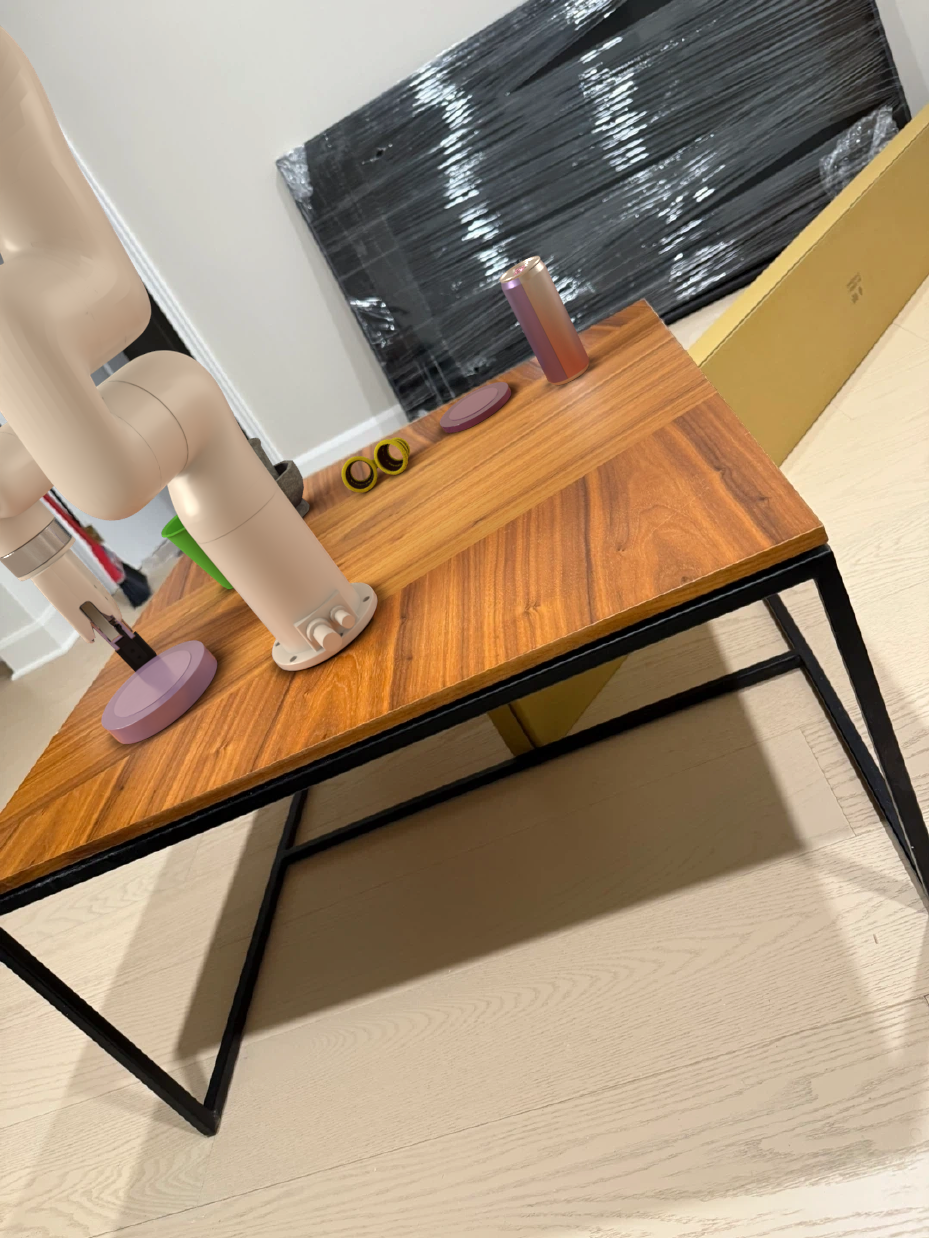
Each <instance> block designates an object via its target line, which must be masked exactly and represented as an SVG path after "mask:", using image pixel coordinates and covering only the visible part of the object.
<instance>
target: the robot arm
mask: <svg viewBox="0 0 929 1238" xmlns="http://www.w3.org/2000/svg"><path fill="white" fill-rule="evenodd" d="M0 256H1V258H2V261H3V263H1V264H0V414H1V415H2V416H3V418H4V419H5V420H6V422H5V423H4V424H2V425H1V426H0V563H2V564H3V565H4V566H5V567H6V569H7V570H8V571H9V572H10V573H12V574H13V576H15V578H16V579H18V580H19V582H24V581H27V580H29V579H30V580H31V582H32V583H33V585H34V586H35V587H36V588H37V589H38V590H39V592H40V593H41V594H42V595H43V596H44V598H45V599H46V600H47V601H48V602H49V603H50V604H51V605H52V607H54V609H55V610H56V611H57V612H58V613H59V614H60V615H61V616H62V617H63V618H64V620H65V621H66V623H68V624H69V625H70V626H71V628H73V630H74V631H75V632H76V633H77V634H78V635H79V636H80V637H81V638H82V639H83V641H84V642H85V643H87V644H94V643H95V639H96V637H97V636H96V634H95V632H97V633H98V634H99V636H100V637H101V638H102V639H104V640H105V642H107V643H108V644H109V645H110V647H112V648H113V649H114V652H115V653H116V654H117V655H118V656H119V657H120V658H121V659H122V660H123V661H124V662H125V663H126V664H127V665H128V667H130V668H131V669H132V670H133V672H134V673H135V672H136V671H137V670H139V669H140V668H141V667H142V666H143V665H145V664H146V663H147V662H149V661H150V660H151V659H153V658H154V657H156V656H157V655H158V654H157V653H156V651H155V650H154V649H153V648H152V647H151V645H150V644H149V643H148V642H147V641H146V640H145V639H144V638H143V637H142V636H141V635H140V634H139V633H138V632H137V631H136V630H135V631H134V630H133V628H132V627H131V626H130V625H129V624H128V623H127V622H126V621H125V620H124V618H123V614H122V612H121V609H120V607H119V605H118V603H117V602H116V600H115V599H114V597H113V596H112V595H111V593H110V592H109V591H108V589H107V588H106V587H105V585H104V584H103V583H102V582H101V581H100V580H99V579H98V578H97V576H96V575H95V574H94V572H93V571H91V570H90V568H88V567H87V565H86V564H85V563H84V562H83V561H82V560H81V558H80V557H78V555H76V553H75V552H74V551H73V550H72V549H71V548H72V546H73V545H74V544H75V543H76V538H75V537H74V536H73V534H71V532H70V531H69V530H68V529H67V528H66V526H64V525H63V524H62V523H61V521H60V520H59V519H58V518H57V517H56V516H55V514H53V512H52V511H50V509H49V508H48V507H47V506H46V505H45V504H44V502H42V501H41V500H40V499H42V498H43V497H44V496H45V495H47V494H48V493H49V492H50V491H51V490H52V488H55V489H56V490H57V491H58V492H59V493H60V495H62V496H63V498H65V499H66V500H67V502H69V503H70V504H71V505H73V507H75V508H76V509H78V510H80V512H83V513H84V514H86V515H88V516H90V517H92V518H95V519H98V520H103V521H121V520H125V519H128V518H130V517H132V516H134V515H136V514H137V513H139V512H140V511H142V510H143V509H144V508H145V507H146V506H147V505H149V504H150V502H151V501H153V500H154V499H155V497H157V496H158V495H159V494H160V493H161V492H162V490H164V489H165V488H166V486H167V489H168V494H169V497H170V500H171V503H172V506H173V509H174V511H175V513H176V515H178V517H179V519H180V521H181V522H182V524H183V525H184V527H185V528H186V530H187V531H188V532H189V534H190V535H191V536H192V537H193V538H194V540H195V541H196V542H197V544H198V545H199V546H200V547H201V549H202V550H203V551H204V552H205V553H206V555H207V556H208V557H209V558H210V559H211V561H212V562H213V563H214V564H215V565H216V567H217V568H218V569H219V570H220V572H221V573H222V574H223V575H224V576H225V578H226V579H227V580H228V581H229V582H230V584H231V585H232V586H233V587H234V588H233V589H234V590H235V591H236V592H237V593H238V595H239V596H240V598H242V600H243V601H244V602H245V603H246V604H247V606H248V607H249V608H250V609H251V610H252V612H253V613H254V614H255V615H256V617H257V618H258V619H259V620H260V621H261V623H262V624H263V625H264V626H265V628H266V629H267V630H268V632H269V633H270V634H271V635H272V636H273V637H274V638H275V640H274V643H273V645H272V649H271V656H272V660H273V661H274V663H276V665H277V666H278V667H279V668H280V669H282V670H284V671H290V672H293V671H300V670H301V671H302V670H306V669H308V668H311V667H314V666H317V665H318V664H321V663H322V662H324V661H327V660H328V659H330V658H331V657H333V656H334V655H336V654H338V653H339V652H340V651H342V650H343V649H344V648H346V647H347V646H348V645H349V644H350V643H352V641H354V640H355V639H356V638H357V637H358V636H359V635H360V634H361V633H362V632H363V631H364V629H365V628H366V627H367V625H368V624H369V622H370V621H371V619H372V618H373V616H374V615H375V611H376V609H377V606H378V596H377V594H376V592H375V591H374V589H373V588H372V587H371V586H370V585H369V584H368V583H365V582H357V581H356V582H350V581H349V579H347V577H346V576H345V574H344V573H343V571H342V570H341V569H340V567H339V566H338V565H337V564H336V563H335V561H334V559H333V558H332V557H331V555H330V553H328V551H327V549H325V547H324V546H323V545H322V543H321V542H320V540H319V539H318V538H317V536H316V535H315V534H314V532H313V531H312V530H311V528H310V527H309V525H308V523H306V521H305V519H304V518H303V517H301V516H300V515H299V513H298V512H297V510H296V509H295V508H294V506H293V505H292V504H291V502H290V501H289V500H288V498H287V497H286V495H285V494H284V493H283V491H282V490H281V489H280V487H279V486H278V484H277V483H276V481H275V480H274V478H273V477H272V476H271V474H270V473H269V472H268V470H267V469H266V467H265V466H264V465H263V463H262V462H261V460H260V459H259V457H258V456H257V455H256V453H255V452H254V450H253V449H252V447H251V445H250V444H249V442H248V441H247V440H248V439H247V437H246V435H245V433H244V432H243V430H242V428H241V426H240V424H239V422H238V420H237V419H236V416H235V414H234V412H233V411H232V408H231V406H230V404H229V401H228V400H227V398H226V396H225V394H224V391H223V390H222V388H221V387H220V385H219V383H218V382H217V380H216V379H215V377H214V376H213V375H212V374H211V373H210V372H209V370H208V369H207V368H206V367H205V366H204V365H202V364H201V363H200V362H199V361H197V360H196V359H195V358H193V357H191V356H189V355H187V354H185V353H182V352H179V351H174V350H166V349H165V350H155V351H154V350H153V351H151V352H146V353H145V354H141V355H139V356H137V357H135V358H133V359H132V360H130V361H128V362H126V363H125V364H124V365H123V366H121V367H120V368H119V369H117V370H116V371H115V372H114V373H112V374H111V375H110V376H108V377H107V378H106V379H104V380H103V381H101V383H99V384H98V385H96V383H95V381H94V380H93V378H92V376H91V375H92V374H94V373H95V372H96V371H98V370H99V369H100V368H102V367H103V366H104V365H106V364H107V363H108V362H110V361H111V360H112V359H114V358H115V357H116V356H118V355H119V354H120V353H122V352H123V351H124V350H125V349H126V348H127V347H129V346H130V345H131V344H132V343H133V342H135V341H136V340H137V339H138V338H139V337H140V336H141V335H142V334H143V333H144V331H145V330H146V329H147V327H148V325H149V323H150V321H151V320H150V319H151V315H152V306H151V301H150V298H149V294H148V292H147V289H146V287H145V284H144V283H143V281H142V279H141V276H140V274H139V273H138V271H137V269H136V267H135V265H134V263H133V262H132V260H131V257H130V256H129V254H128V252H127V250H126V248H125V246H124V244H123V243H122V242H121V239H120V238H119V235H118V234H117V232H116V230H115V229H114V226H113V225H112V223H111V221H110V219H109V217H108V215H107V214H106V212H105V210H104V208H103V206H102V205H101V203H100V200H99V199H98V197H97V195H96V193H95V192H94V190H93V188H92V186H91V185H90V183H89V182H88V180H87V178H86V176H85V175H84V173H83V172H82V170H81V168H80V165H79V164H78V162H77V160H76V158H75V156H74V154H73V153H72V151H71V148H70V146H69V144H68V142H67V140H66V137H65V135H64V132H63V130H62V127H61V126H60V123H59V121H58V118H57V116H56V113H55V111H54V109H53V106H52V104H51V101H50V99H49V97H48V94H47V92H46V90H45V88H44V85H43V84H42V81H41V80H40V78H39V76H38V74H37V72H36V69H35V68H34V67H33V64H32V63H31V61H30V60H29V58H28V57H27V55H26V53H25V52H24V51H23V49H22V48H21V47H20V45H19V44H18V43H17V41H16V40H15V39H14V38H13V36H11V34H9V32H8V31H7V30H6V29H5V28H4V27H2V26H1V25H0Z"/></svg>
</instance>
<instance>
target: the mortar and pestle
mask: <svg viewBox="0 0 929 1238" xmlns="http://www.w3.org/2000/svg"><path fill="white" fill-rule="evenodd" d="M247 441H248V442H249V444H250V445H251V447H252V449H253V450H254V452H255V453H256V455H257V456H258V457H259V459H260V460H261V462H262V463H263V465H264V466H265V467H266V469H267V470H268V472H269V473H270V474H271V476H272V477H273V478H274V480H275V481H276V483H277V484H278V486H279V487H280V489H281V490H282V491H283V493H284V494H285V495H286V497H287V498H288V500H289V501H290V502H291V504H292V505H293V506H294V508H295V509H296V510H297V512H298V513H299V515H300V516H301V517H302V518H303V517H305V516H306V514H307V513H308V512H309V510H310V504H309V503H308V501H306V499H305V498H303V495H304V490H305V484H304V479H303V475H302V473H301V471H300V469H299V467H298V466H297V464H296V463H295V462H294V460H292V459H289V460H287V459H286V460H285V459H284V460H282V461H280V462H277V463H275V464H273V463H272V461H271V460H270V457H269V456H268V454H267V453H266V451H265V450H264V448H263V446H262V440H261V439H260V438H259V437H252V438H249V439H247Z"/></svg>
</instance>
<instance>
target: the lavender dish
mask: <svg viewBox="0 0 929 1238" xmlns="http://www.w3.org/2000/svg"><path fill="white" fill-rule="evenodd" d="M217 669H218V660H217V658H216V656H214V654H213V653H212V652H211V651H210V650H209V649H208V647H207V646H206V645H205V644H204V643H203V642H202V641H200V640H195V639H193V640H187V641H186V640H185V641H183V642H181V643H178V644H175V645H173V646H171V647H168V648H167V649H165V650H164V651H162V652H160V653H159V654H157V656H156V657H154V658H153V659H151V660H150V661H149V662H147V663H146V664H145V665H143V666H142V667H141V668H140V669H139V670H137V671H136V672H135V671H134V673H132V675H131V676H129V677H128V678H127V679H126V680H125V681H124V682H123V684H121V686H120V687H119V688H118V689H117V690H116V691H115V693H114V694H113V695H112V697H111V698H110V700H109V701H108V702H107V704H106V706H105V707H104V710H103V712H102V714H101V721H100V722H101V726H102V728H103V729H104V730H106V731H107V733H108V734H110V735H111V736H112V737H113V738H114V739H115V740H116V741H117V742H118V743H120V744H123V745H128V744H129V745H130V744H136V743H140V742H141V741H145V740H146V739H148V738H150V737H152V736H155V735H156V734H158V733H160V732H161V731H163V730H164V729H166V728H168V727H169V726H170V725H171V724H173V723H174V722H175V721H176V720H178V719H179V718H180V717H182V716H183V715H184V714H185V713H186V712H187V711H188V710H189V709H190V708H191V707H192V706H193V705H195V703H196V702H197V701H198V700H199V699H200V697H201V696H202V695H203V694H204V692H205V691H206V690H207V689H208V687H209V686H210V684H211V683H212V681H213V679H214V677H215V675H216V672H217Z"/></svg>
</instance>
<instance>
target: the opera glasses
mask: <svg viewBox="0 0 929 1238" xmlns="http://www.w3.org/2000/svg"><path fill="white" fill-rule="evenodd" d="M390 445H392V446H394V447H395V448H397V449H398V450H399V452H400V453H401V457H402V458H395V457H394V456H393V455H392V454H391V452H390ZM410 455H411V446H410V445H409V442H408V441H407V440H406V439H404V438H402V437H398V436H397V437H396V436H395V437H392V438H385V439H382V440H380V441H379V442H378V443H377V444H376V445H375V447H374V450H373V459H372V458H371V459H370V458H368V457H366V456H363V455H355V456H352V457H350V458H348V459H347V460H346V461H345V463H344V464H343V465H342V469H341V480H342V482H343V484H344V486H345V487H346V488H347V489H348V490H350V491H352V492H354V493H357V494H364V493H366V492H368V491H370V490H372V489H373V488H374V486H375V485H376V484H377V481H378V476H379V474H378V469H380V470H381V471H382V472H383V473H385V474H387V475H390V476H391V475H393V476H394V475H395V476H396V475H400V474H402V473H403V472H404V471H405V470H406V469H407V467H408V463H409V457H410ZM358 462H363V463H365V464H367V465H368V469H369V474H368V476H367V477H366V478H365V479H357V478H356V477H355V476H354V475H353V472H352V468H353V466H354V464H356V463H358Z"/></svg>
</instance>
